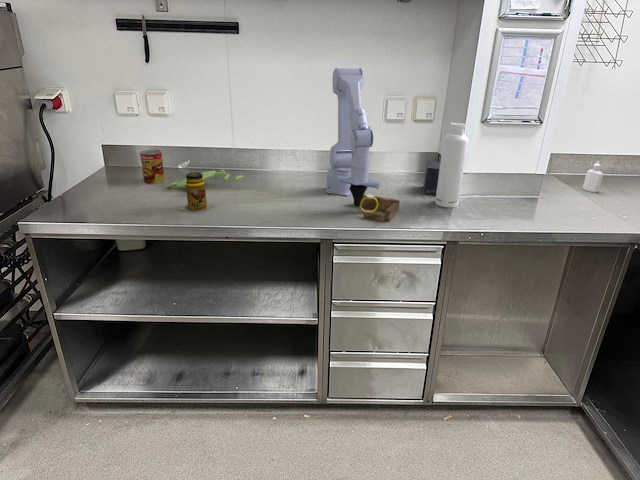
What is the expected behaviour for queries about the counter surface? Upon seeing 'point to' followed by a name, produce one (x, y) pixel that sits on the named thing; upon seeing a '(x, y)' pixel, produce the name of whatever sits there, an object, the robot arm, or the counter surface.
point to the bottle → (452, 166)
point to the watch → (369, 198)
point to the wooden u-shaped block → (381, 208)
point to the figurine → (205, 178)
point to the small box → (431, 177)
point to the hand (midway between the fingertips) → (357, 206)
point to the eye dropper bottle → (593, 179)
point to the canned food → (152, 166)
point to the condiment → (195, 193)
